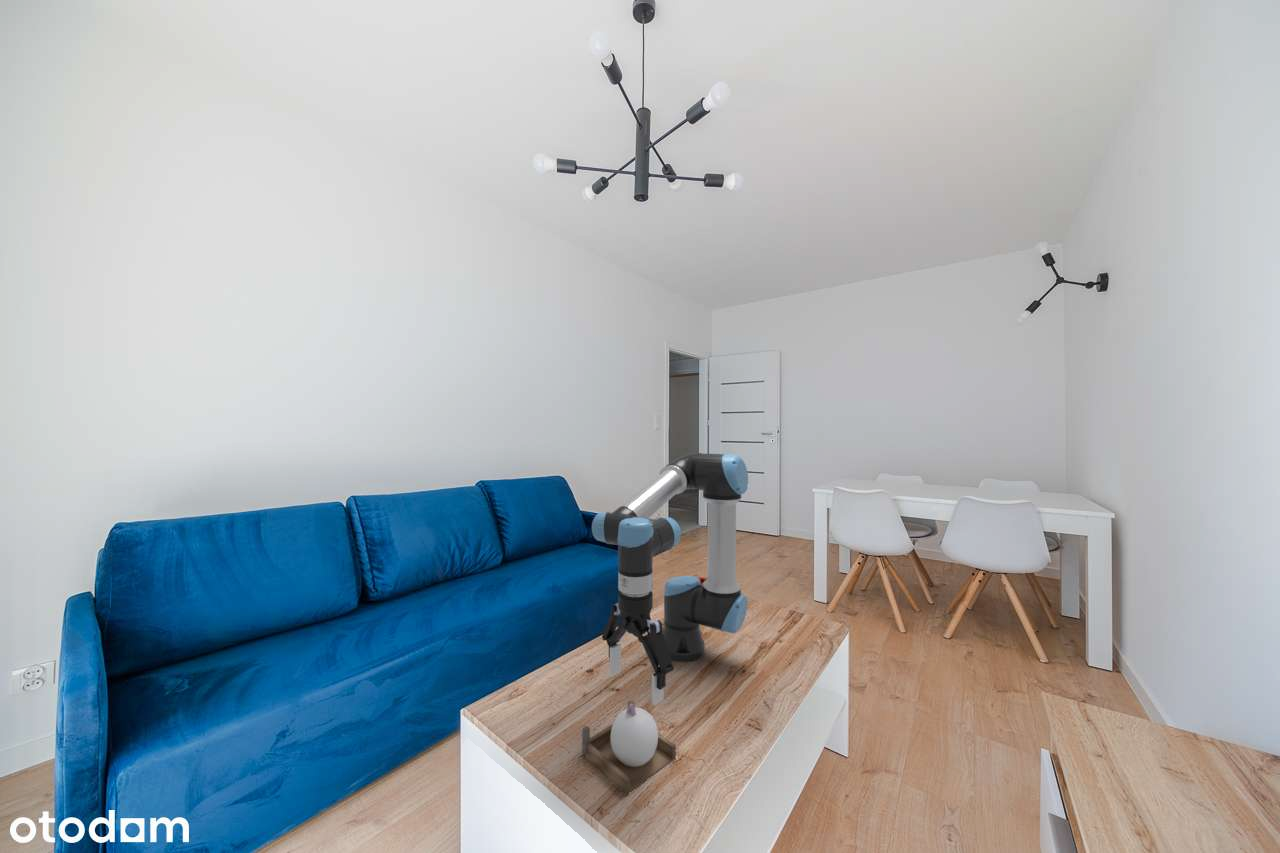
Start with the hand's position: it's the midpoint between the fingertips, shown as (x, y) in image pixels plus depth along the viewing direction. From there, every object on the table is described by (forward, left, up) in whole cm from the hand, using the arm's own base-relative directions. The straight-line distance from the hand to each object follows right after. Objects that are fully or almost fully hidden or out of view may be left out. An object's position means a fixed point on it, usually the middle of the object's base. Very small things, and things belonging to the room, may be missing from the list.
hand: (635, 687), depth 95 cm
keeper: (-1, 0, -16) cm, 16 cm away
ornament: (0, 0, -16) cm, 16 cm away
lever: (-50, +88, -16) cm, 103 cm away
